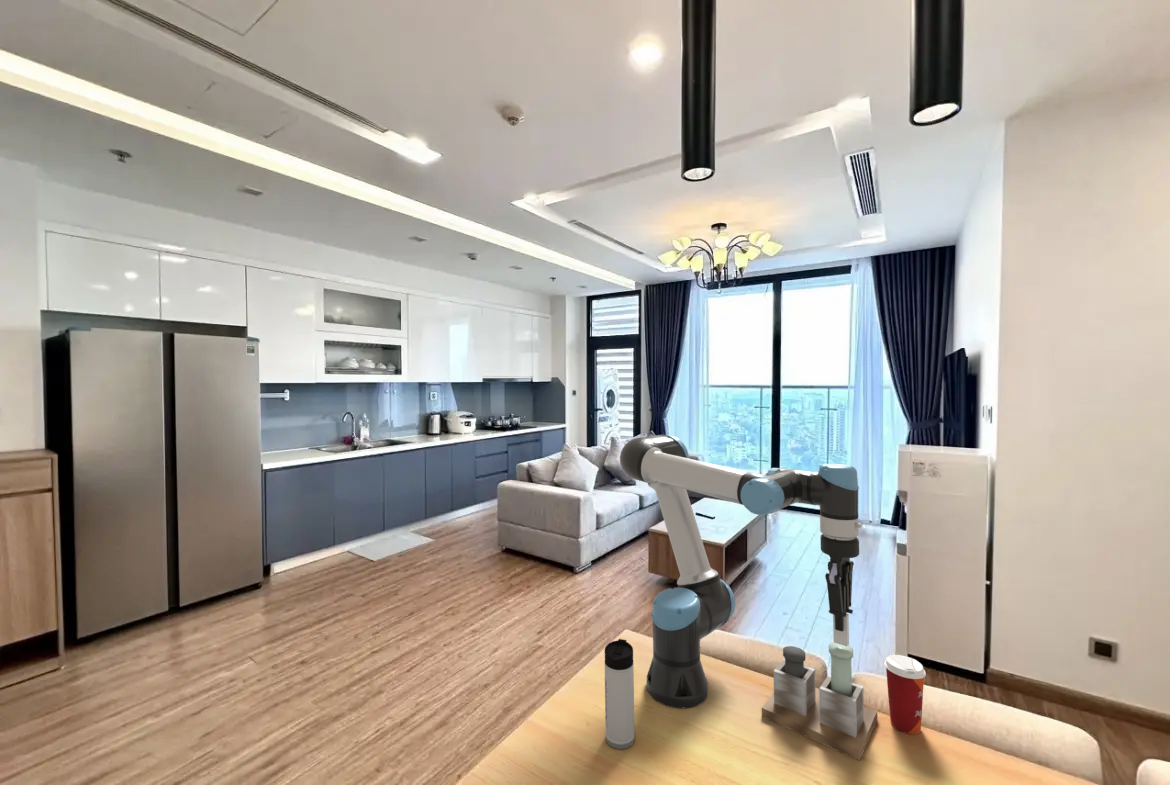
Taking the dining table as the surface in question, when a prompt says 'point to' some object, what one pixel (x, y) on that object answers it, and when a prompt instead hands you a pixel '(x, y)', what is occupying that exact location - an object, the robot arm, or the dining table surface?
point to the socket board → (821, 711)
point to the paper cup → (905, 692)
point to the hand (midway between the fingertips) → (841, 643)
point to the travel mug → (619, 694)
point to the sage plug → (841, 668)
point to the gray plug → (794, 661)
